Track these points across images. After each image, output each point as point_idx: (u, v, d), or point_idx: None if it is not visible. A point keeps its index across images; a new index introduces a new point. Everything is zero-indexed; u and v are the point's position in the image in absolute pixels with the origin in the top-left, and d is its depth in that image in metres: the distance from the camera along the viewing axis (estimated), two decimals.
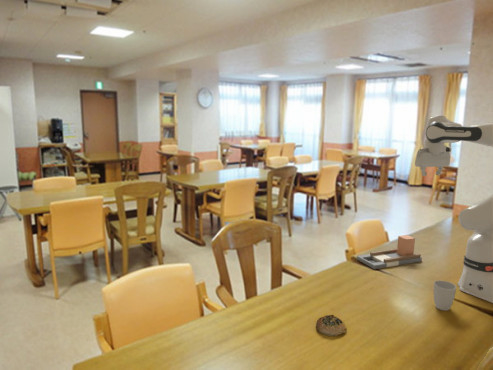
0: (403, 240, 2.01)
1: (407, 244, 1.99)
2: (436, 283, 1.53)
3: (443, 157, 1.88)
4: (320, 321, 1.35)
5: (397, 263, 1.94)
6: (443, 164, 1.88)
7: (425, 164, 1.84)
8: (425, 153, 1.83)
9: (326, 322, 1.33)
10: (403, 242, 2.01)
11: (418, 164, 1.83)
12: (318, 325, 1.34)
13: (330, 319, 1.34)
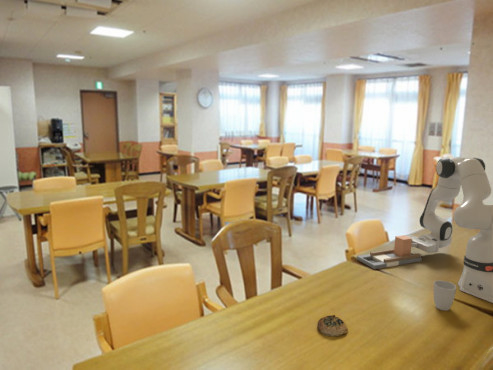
0: (400, 241, 2.00)
1: (404, 245, 1.99)
2: (436, 283, 1.53)
3: (428, 243, 2.02)
4: (321, 321, 1.35)
5: (397, 263, 1.94)
6: (423, 243, 2.00)
7: None
8: None
9: (327, 322, 1.33)
10: (400, 242, 2.00)
11: None
12: (319, 325, 1.33)
13: (331, 319, 1.34)
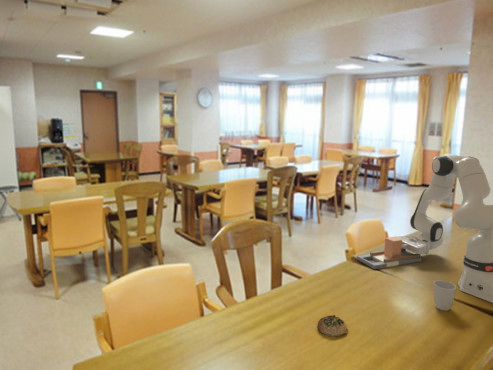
0: (390, 242, 1.98)
1: (393, 246, 1.96)
2: (436, 283, 1.53)
3: (418, 244, 1.99)
4: (321, 321, 1.35)
5: (397, 263, 1.94)
6: (413, 245, 1.98)
7: None
8: (404, 237, 2.11)
9: (327, 322, 1.33)
10: (390, 244, 1.98)
11: None
12: (319, 325, 1.33)
13: (331, 319, 1.34)
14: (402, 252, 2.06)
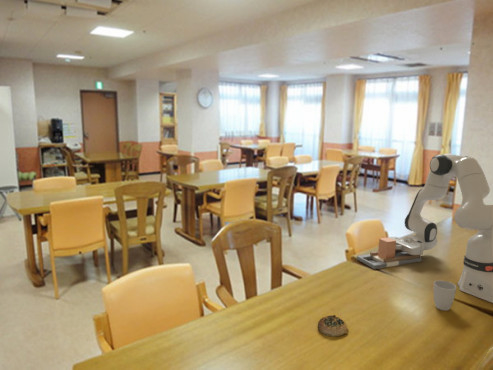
0: (384, 243, 1.96)
1: (387, 247, 1.95)
2: (436, 283, 1.53)
3: (412, 245, 1.98)
4: (322, 321, 1.35)
5: (397, 263, 1.94)
6: (407, 246, 1.96)
7: None
8: None
9: (328, 322, 1.33)
10: (384, 244, 1.96)
11: None
12: (320, 325, 1.33)
13: (332, 319, 1.34)
14: (402, 252, 2.06)
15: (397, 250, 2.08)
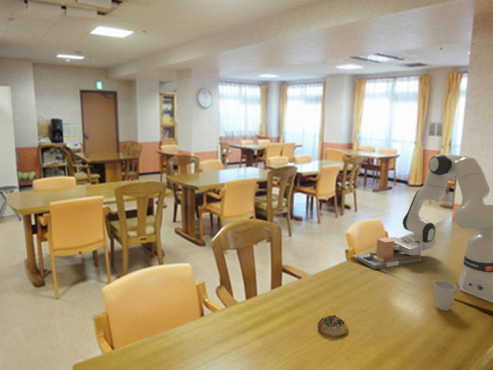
0: (382, 243, 1.96)
1: (385, 247, 1.94)
2: (436, 283, 1.53)
3: (410, 245, 1.97)
4: (322, 322, 1.35)
5: (397, 263, 1.94)
6: (406, 246, 1.96)
7: None
8: None
9: (328, 323, 1.33)
10: (382, 245, 1.96)
11: None
12: (320, 326, 1.33)
13: (332, 320, 1.34)
14: (402, 252, 2.06)
15: (397, 250, 2.08)
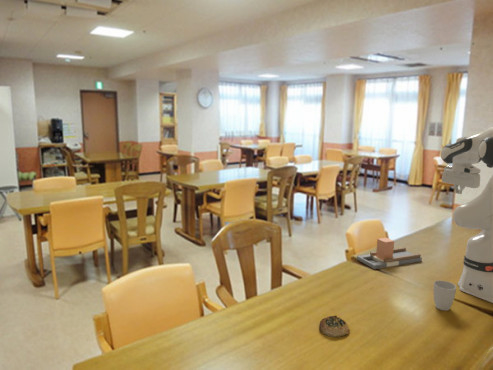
0: (382, 243, 1.96)
1: (385, 247, 1.94)
2: (436, 283, 1.53)
3: (467, 178, 1.90)
4: (323, 322, 1.35)
5: (397, 263, 1.94)
6: (466, 185, 1.90)
7: (446, 180, 2.01)
8: (446, 170, 2.01)
9: (329, 323, 1.32)
10: (382, 245, 1.96)
11: None
12: (321, 326, 1.33)
13: (333, 320, 1.34)
14: (402, 252, 2.06)
15: (397, 250, 2.08)
